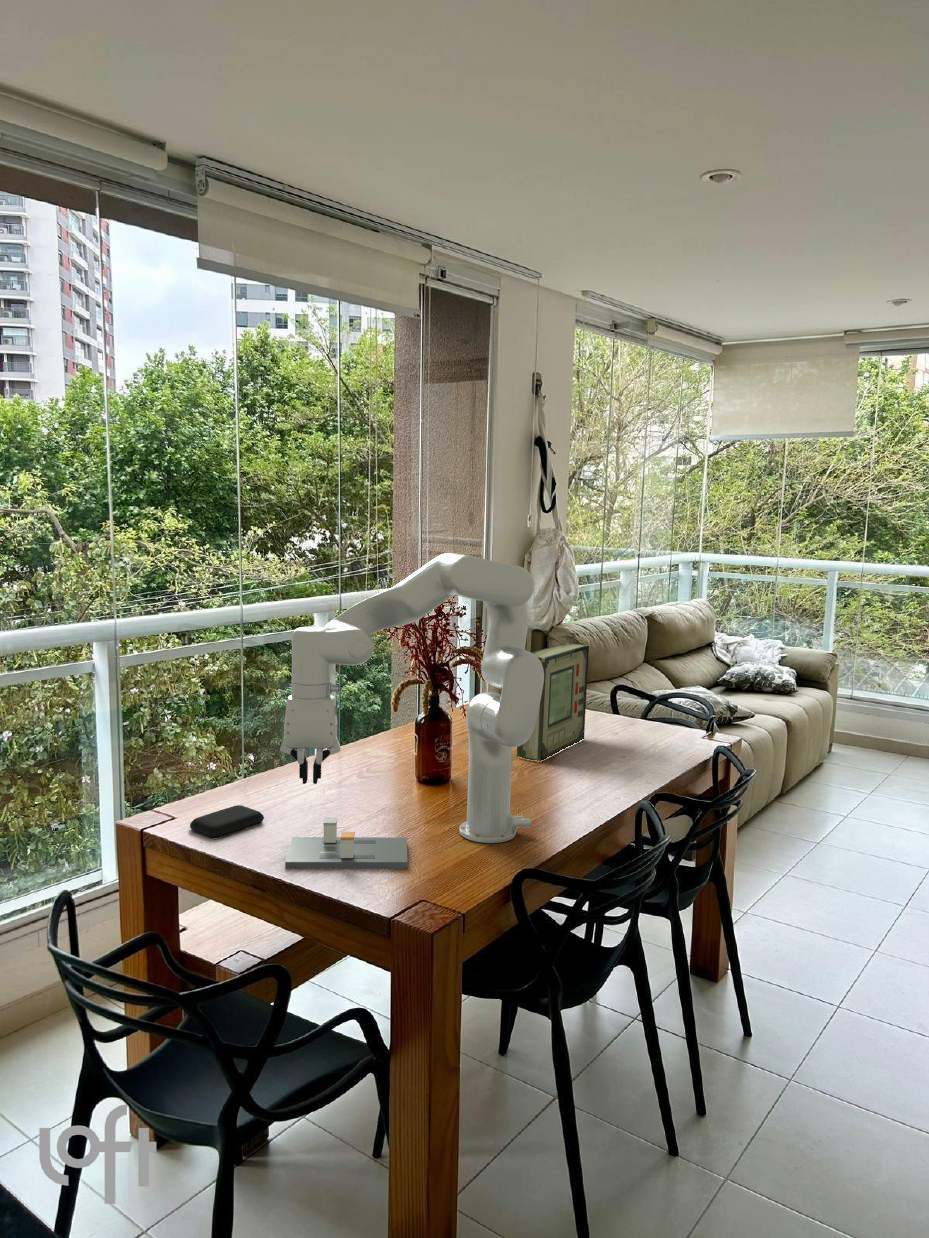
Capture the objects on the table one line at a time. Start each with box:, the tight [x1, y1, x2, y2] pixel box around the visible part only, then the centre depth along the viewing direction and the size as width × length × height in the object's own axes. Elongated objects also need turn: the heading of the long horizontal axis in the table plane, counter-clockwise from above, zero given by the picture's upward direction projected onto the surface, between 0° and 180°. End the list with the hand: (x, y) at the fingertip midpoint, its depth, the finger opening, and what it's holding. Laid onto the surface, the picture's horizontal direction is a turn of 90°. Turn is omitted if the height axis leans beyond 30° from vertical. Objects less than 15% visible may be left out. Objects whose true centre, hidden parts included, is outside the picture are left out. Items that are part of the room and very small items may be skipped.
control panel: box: [516, 642, 590, 761], centre depth 268 cm, size 30×8×30 cm, turn 148°
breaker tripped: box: [340, 831, 355, 858], centre depth 181 cm, size 3×3×4 cm
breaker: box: [323, 816, 338, 843], centre depth 188 cm, size 3×3×4 cm
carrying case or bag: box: [189, 804, 265, 839], centre depth 199 cm, size 11×3×15 cm
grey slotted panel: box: [284, 836, 408, 870], centre depth 185 cm, size 24×13×2 cm, turn 94°
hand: (310, 781), depth 178 cm, fingers closed
